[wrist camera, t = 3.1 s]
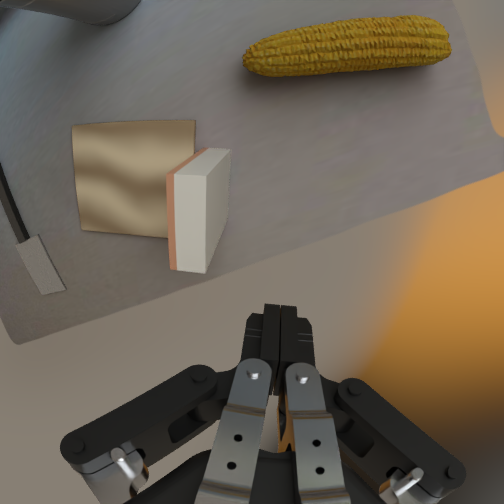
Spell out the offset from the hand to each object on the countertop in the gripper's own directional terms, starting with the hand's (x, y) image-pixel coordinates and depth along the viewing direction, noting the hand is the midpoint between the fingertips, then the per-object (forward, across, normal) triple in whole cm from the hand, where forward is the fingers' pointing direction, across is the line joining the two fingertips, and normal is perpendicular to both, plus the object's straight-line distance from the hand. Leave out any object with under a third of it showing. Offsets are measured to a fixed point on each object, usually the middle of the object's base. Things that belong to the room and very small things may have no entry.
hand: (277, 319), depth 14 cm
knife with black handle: (+22, +39, +8) cm, 45 cm away
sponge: (+22, +7, 0) cm, 23 cm away
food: (+22, -6, -16) cm, 28 cm away
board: (+21, +18, 0) cm, 28 cm away
